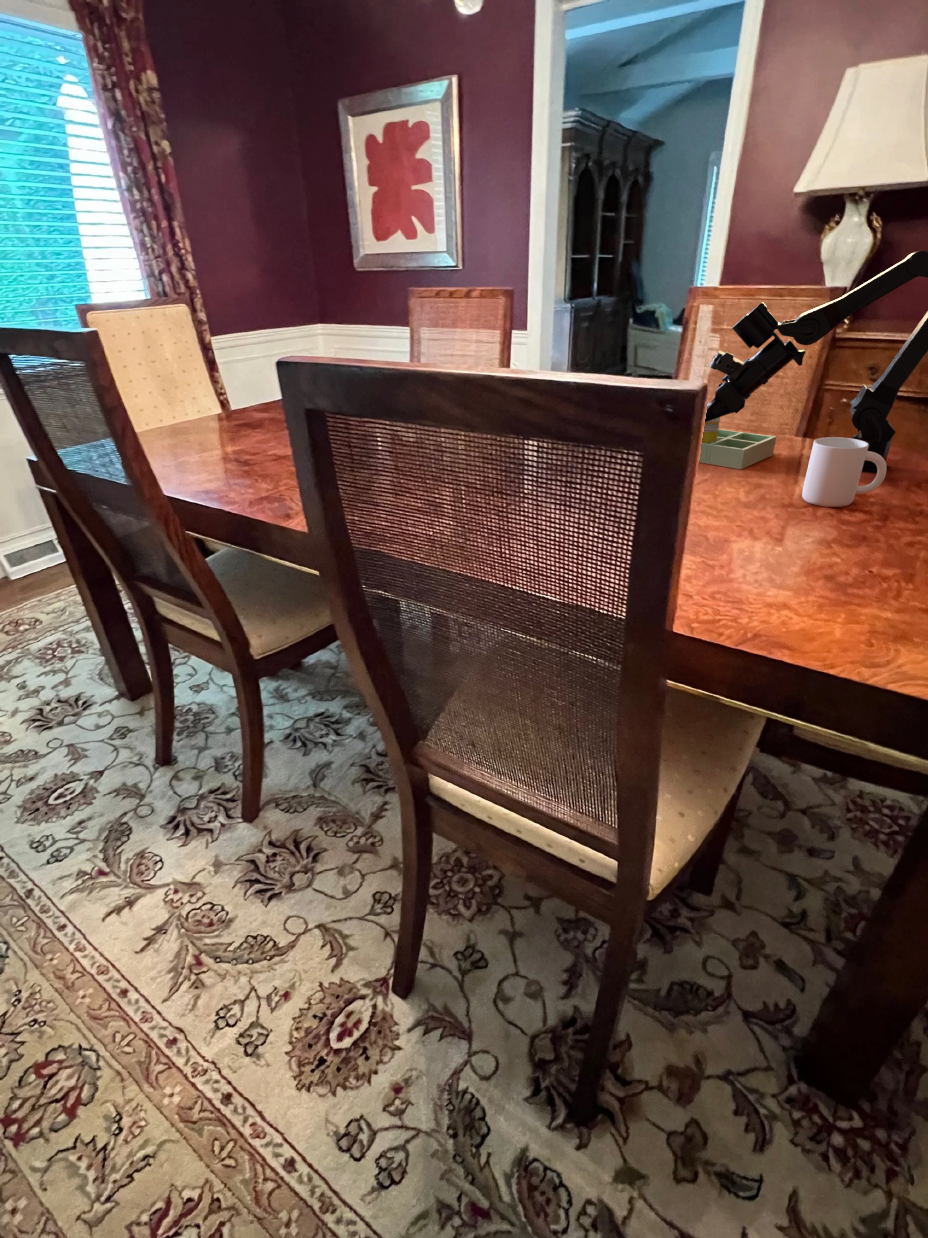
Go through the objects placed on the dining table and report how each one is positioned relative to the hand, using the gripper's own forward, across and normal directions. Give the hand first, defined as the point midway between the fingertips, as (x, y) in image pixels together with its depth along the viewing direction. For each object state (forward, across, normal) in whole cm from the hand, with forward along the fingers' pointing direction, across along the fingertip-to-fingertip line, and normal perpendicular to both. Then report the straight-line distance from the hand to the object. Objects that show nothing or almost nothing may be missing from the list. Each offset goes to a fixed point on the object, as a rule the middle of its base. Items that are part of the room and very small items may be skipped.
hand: (700, 419), depth 137 cm
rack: (+2, -2, +10) cm, 10 cm away
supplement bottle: (+4, 0, +6) cm, 7 cm away
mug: (-13, +26, +25) cm, 38 cm away
